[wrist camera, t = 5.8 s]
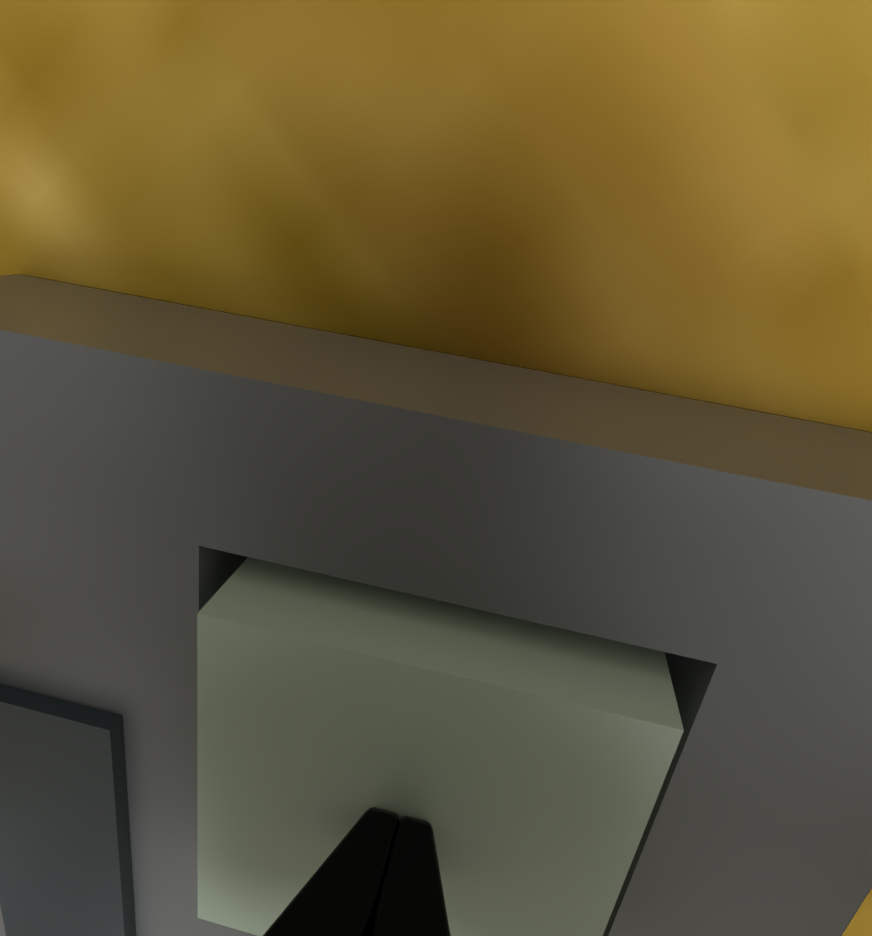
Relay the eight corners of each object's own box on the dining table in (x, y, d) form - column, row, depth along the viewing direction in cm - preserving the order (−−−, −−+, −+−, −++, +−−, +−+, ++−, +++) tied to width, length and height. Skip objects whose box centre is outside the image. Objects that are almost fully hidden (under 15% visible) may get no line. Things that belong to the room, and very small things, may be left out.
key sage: (264, 787, 12) (197, 918, 10) (279, 522, 10) (196, 613, 7) (564, 867, 11) (566, 1026, 9) (652, 605, 9) (683, 730, 7)
